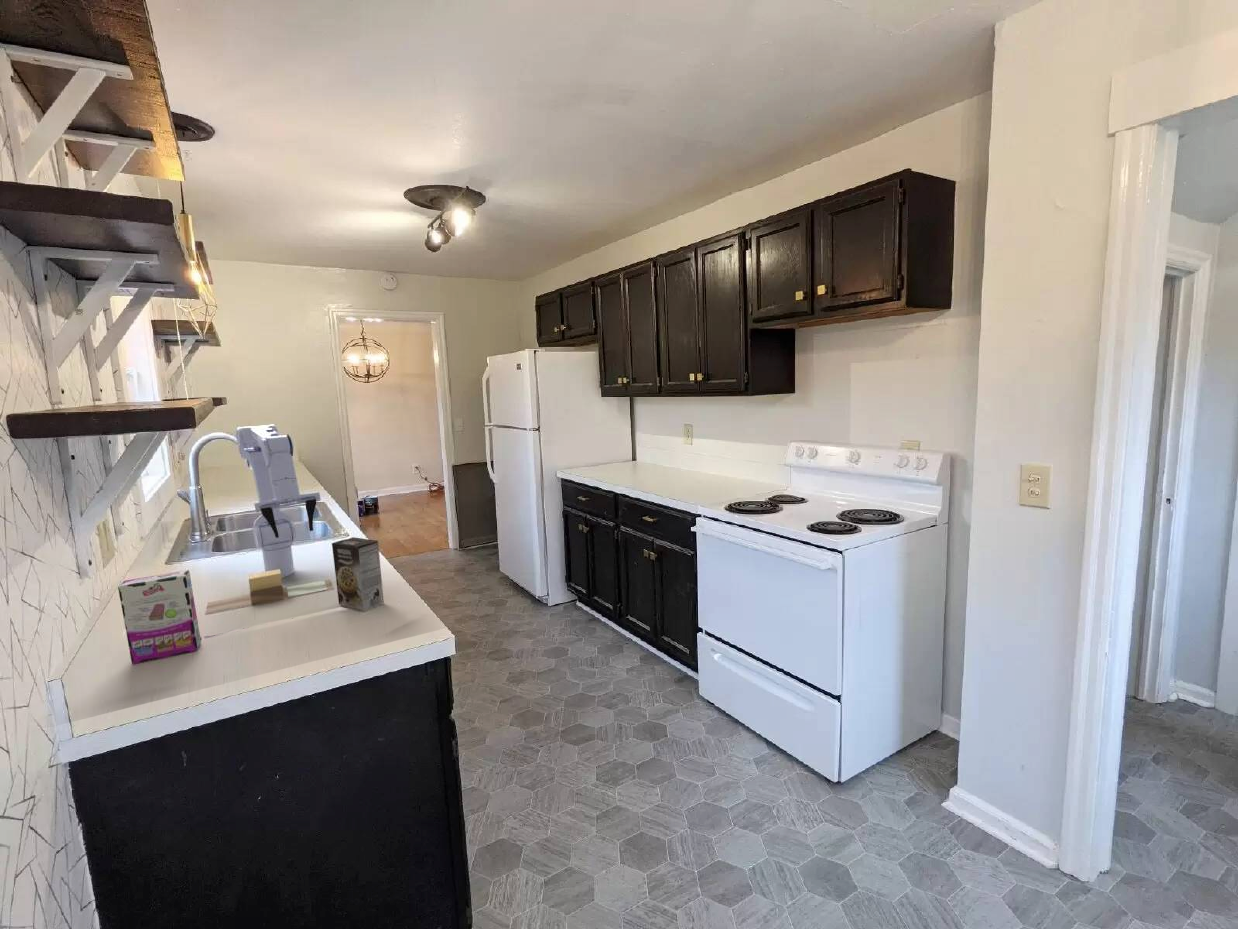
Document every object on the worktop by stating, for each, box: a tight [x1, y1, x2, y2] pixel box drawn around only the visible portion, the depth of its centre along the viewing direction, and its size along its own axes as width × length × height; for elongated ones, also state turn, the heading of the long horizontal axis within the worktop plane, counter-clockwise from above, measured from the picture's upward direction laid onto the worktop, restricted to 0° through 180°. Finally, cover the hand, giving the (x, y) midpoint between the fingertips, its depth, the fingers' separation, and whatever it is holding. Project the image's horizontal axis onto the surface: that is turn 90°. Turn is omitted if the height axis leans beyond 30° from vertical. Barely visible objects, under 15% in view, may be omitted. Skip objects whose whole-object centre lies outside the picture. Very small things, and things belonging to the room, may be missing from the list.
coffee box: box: [331, 536, 385, 613], centre depth 146 cm, size 9×6×16 cm
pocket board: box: [204, 579, 335, 616], centre depth 154 cm, size 10×28×4 cm, turn 121°
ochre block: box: [248, 569, 283, 591], centre depth 153 cm, size 4×7×6 cm, turn 121°
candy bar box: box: [117, 569, 202, 665], centre depth 123 cm, size 11×5×16 cm, turn 117°
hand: (294, 533), depth 151 cm, fingers open, 7 cm apart
